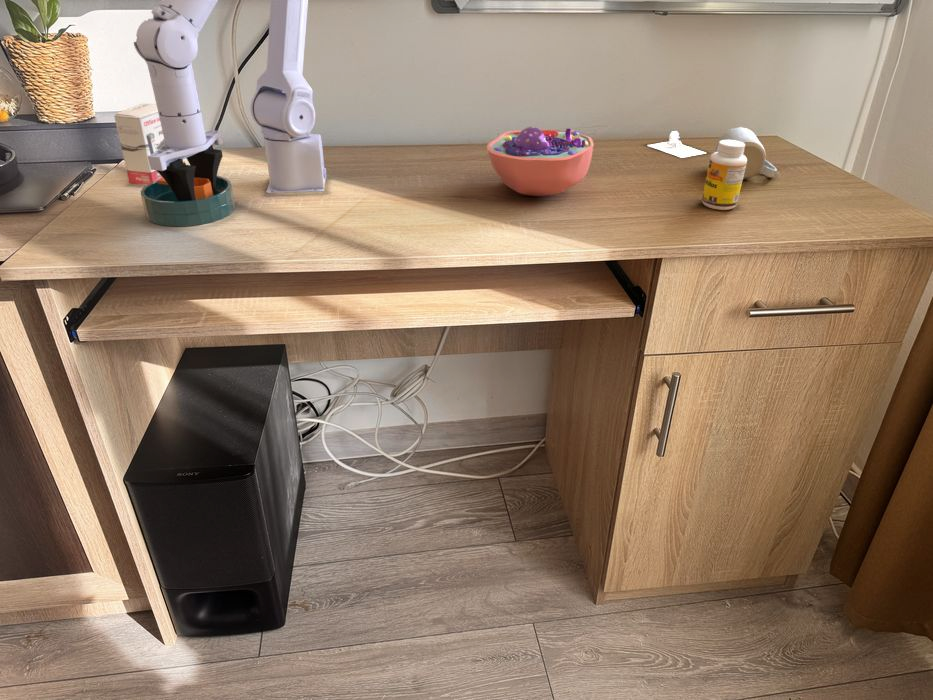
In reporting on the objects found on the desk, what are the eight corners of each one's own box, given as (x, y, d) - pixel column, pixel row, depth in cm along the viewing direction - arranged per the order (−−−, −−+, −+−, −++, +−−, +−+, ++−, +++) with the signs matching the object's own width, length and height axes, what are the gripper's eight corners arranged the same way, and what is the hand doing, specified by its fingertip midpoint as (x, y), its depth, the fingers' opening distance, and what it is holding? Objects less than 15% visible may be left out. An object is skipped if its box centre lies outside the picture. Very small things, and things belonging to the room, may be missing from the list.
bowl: (241, 197, 112) (236, 173, 110) (228, 227, 101) (223, 200, 99) (158, 200, 111) (152, 175, 109) (137, 231, 100) (130, 204, 98)
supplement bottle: (695, 199, 114) (708, 138, 109) (728, 199, 115) (741, 137, 109) (708, 211, 110) (721, 148, 104) (741, 211, 110) (756, 147, 105)
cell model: (612, 188, 119) (621, 122, 113) (542, 218, 106) (547, 145, 100) (536, 167, 128) (540, 105, 122) (463, 192, 116) (464, 124, 110)
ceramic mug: (721, 180, 123) (731, 137, 119) (710, 166, 130) (719, 125, 125) (781, 183, 122) (793, 140, 118) (766, 169, 129) (778, 128, 125)
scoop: (220, 205, 106) (215, 179, 104) (203, 215, 103) (198, 188, 101) (175, 199, 108) (169, 173, 106) (156, 209, 105) (150, 182, 103)
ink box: (155, 187, 116) (138, 116, 110) (128, 185, 117) (110, 114, 110) (183, 172, 123) (168, 104, 117) (157, 170, 124) (142, 102, 118)
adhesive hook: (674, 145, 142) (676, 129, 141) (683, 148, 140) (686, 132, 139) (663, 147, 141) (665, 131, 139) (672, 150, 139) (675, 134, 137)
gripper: (187, 99, 104) (204, 185, 112) (120, 121, 93) (145, 216, 100) (227, 102, 103) (242, 190, 110) (164, 126, 91) (186, 222, 98)
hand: (198, 203), depth 105 cm, fingers closed on scoop, 4 cm apart
